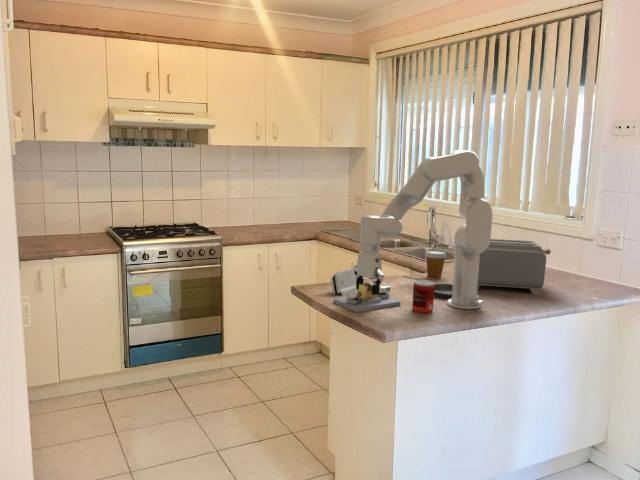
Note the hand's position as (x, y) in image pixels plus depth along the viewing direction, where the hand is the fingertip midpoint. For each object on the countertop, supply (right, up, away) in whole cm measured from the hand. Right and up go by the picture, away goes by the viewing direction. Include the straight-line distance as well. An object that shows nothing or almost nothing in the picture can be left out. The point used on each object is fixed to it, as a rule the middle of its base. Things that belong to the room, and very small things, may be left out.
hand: (367, 291), depth 218 cm
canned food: (+20, -7, -6) cm, 22 cm away
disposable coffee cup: (+36, +2, +49) cm, 61 cm away
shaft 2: (+6, -4, +5) cm, 9 cm away
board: (0, -5, +1) cm, 5 cm away
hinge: (-7, -2, +19) cm, 21 cm away
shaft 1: (-5, -5, -4) cm, 9 cm away
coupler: (0, -3, +1) cm, 3 cm away
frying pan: (+30, -2, +24) cm, 38 cm away
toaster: (+65, -2, +35) cm, 73 cm away
